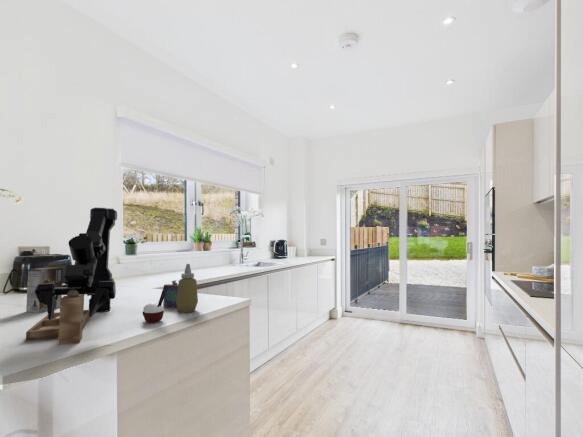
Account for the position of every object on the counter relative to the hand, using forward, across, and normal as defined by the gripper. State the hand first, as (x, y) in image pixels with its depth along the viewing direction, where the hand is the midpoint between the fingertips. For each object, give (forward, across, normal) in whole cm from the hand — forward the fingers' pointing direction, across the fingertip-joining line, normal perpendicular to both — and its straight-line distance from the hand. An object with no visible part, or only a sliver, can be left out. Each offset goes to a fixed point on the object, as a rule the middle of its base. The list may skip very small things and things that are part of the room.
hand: (70, 317), depth 83 cm
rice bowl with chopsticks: (-6, +20, +16) cm, 26 cm away
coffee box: (-30, -21, +39) cm, 54 cm away
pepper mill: (+4, 0, +6) cm, 7 cm away
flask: (-21, +26, +31) cm, 46 cm away
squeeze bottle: (-14, +31, +24) cm, 42 cm away
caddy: (-8, -6, +17) cm, 20 cm away
